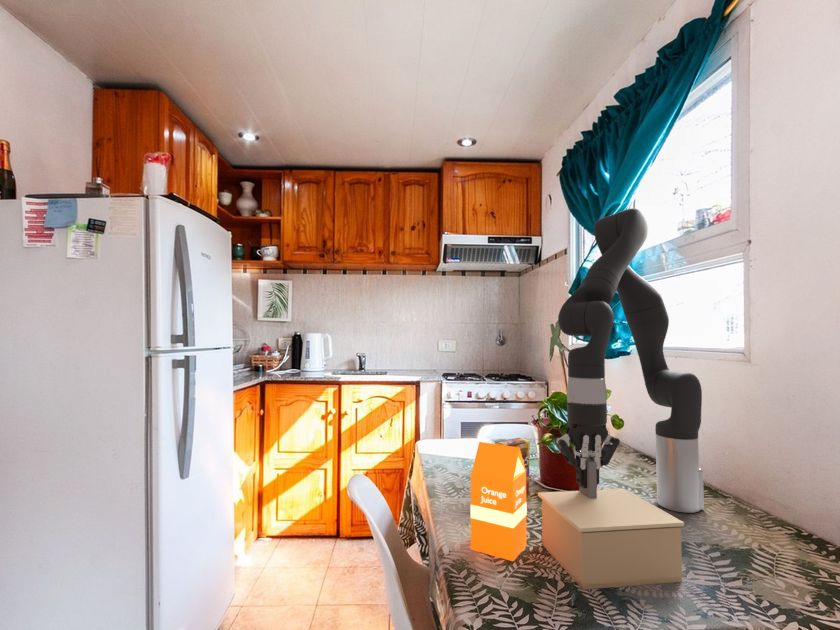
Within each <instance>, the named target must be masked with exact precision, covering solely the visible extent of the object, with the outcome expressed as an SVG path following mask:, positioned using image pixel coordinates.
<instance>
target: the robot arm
mask: <svg viewBox="0 0 840 630" xmlns="http://www.w3.org/2000/svg"><path fill="white" fill-rule="evenodd" d="M593 233H594V234H593V235H594V238H595V242H596V245H597V247H598V249H599V252H600V254H601V256H599V257H598V258H597V259H596V260H595V261H594V263H592V264H591V266H590V267H589V268H588V270H587V272H586V274H585V276H584V278H583V281H582V283H581V285H580V286H579V287H578V288H577V289H576V290H575V291H574V292H573V293H572V294H571V295H570V296H569V297H568V299H566V300H565V302H564V303H563V304H562V306H561V308H560V309H559V313H558V317H557V319H558V320H557V323H558V327H559V329H560V331H561V332H562V333H563V334H564V335H566V336H570V337H590V338H589V341H588V342H587V344H586V345H584V346H581V347H575V348H572V349H571V350H569V351H568V354H567V385H566V386H567V387H566V416H567V417H566V420H567V428H566V430H565V434H564V435H562V436H560V437H555V438H554V443H555V444H556V446H557V448H558V450H559V452H560V453H561V455H562V457H563V458H564V460H565V461H566V464H568V465H570V466H572V467H575V480H576V483H577V484H578V486H580V487H582V488H587V470H586V458H589V459H591V460H593V461H595V462H596V475H597V486H598V485H600V469H601V467H603V466H608V465H609V463H610V462H611V460H612V458H613V457H614V454H615V452H616V450H617V449H618V447H619V445H620V443H621V441H620V439H619V438H617V437H615V436H613V435H611V434H610V433H609V431H608V428H607V423H608V416H607V415H608V405H607V399H608V397H607V396H608V394H607V384H606V368H605V366H606V364H605V362H606V361H605V360H606V359H605V358H606V353H607V347H608V343H609V339H610V336H611V333H612V330H613V326H614V322H615V317H614V311H613V309H612V307H611V306H610V304H611V303H612V301H613V299H614V297H615V294H616V292H617V295H618V298H619V301H620V302H619V303H620V304H621V307H622V311H623V314H624V317H625V320H626V323H627V326H628V328H629V331H630V334H631V337H632V340H633V343H634V345H635V349H636V352H637V355H638V358H639V363H640V367H641V371H642V376H643V380H644V386H645V388H646V392H647V394H648V396H649V398H650V400H651V401H652V402H653V403H654V404H656V405H659V406H661V407H666V408H671V411H670V416H669V417H668V418H667V419H664V420H663V419H662V420H659V421H657V422H656V423H655V425H654V426H655V429H654V431H655V457H656V458H655V459H656V460H655V463H656V464H655V465H656V467H655V468H656V503H657V504H658V506H660V507H662V508H664V509H667V510H669V511H673V512H679V513H685V514H687V513H689V514H694V513H698V512H700V511H702V510H705V496H704V492H705V491H704V470H703V469H702V468H700V454H699V453H700V452H699V450H700V449H699V431H700V429H701V424H702V423H701V422H702V403H703V402H702V401H703V400H702V397H703V394H702V393H703V391H702V390H703V389H702V386H701V383H700V380H699V378H698V377H697V376H696V374H694V373H691V372H687V371H678V370H670V369H669V366H668V365H667V362H666V358H665V355H664V344H665V341H666V337H667V334H668V329H669V325H670V323H669V322H670V319H669V315H668V311H667V309H666V305H665V302H664V299H663V297H662V295H661V293H660V292H659V291H658V289H656V288H655V287H654V285H653V284H651V283H650V282H649V281H647V280H646V278H645V279H644V278H643V277H642V276H641V275H639V274H638V272H635V270H634V269H633V268H632V267H631V266H630V264H631V262H632V261H633V259H634V258H635V257H636V255H637V253H639V251H640V249H641V248H642V246H643V245H644V244H645V242H646V240H647V238H648V235H649V225H648V221H647V219H646V217H645V215H644V214H643V212H642V211H641V210H639V209H637V208H628V209H624V210H620V211H618V212H615V213H613V214H611V215H607V216H605V217H601V218H600V219H597V220H596V221H595V223H594V226H593ZM570 443H571V444H572V445H573V452H572V450H571V448H570V445H571V444H570Z"/></svg>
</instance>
